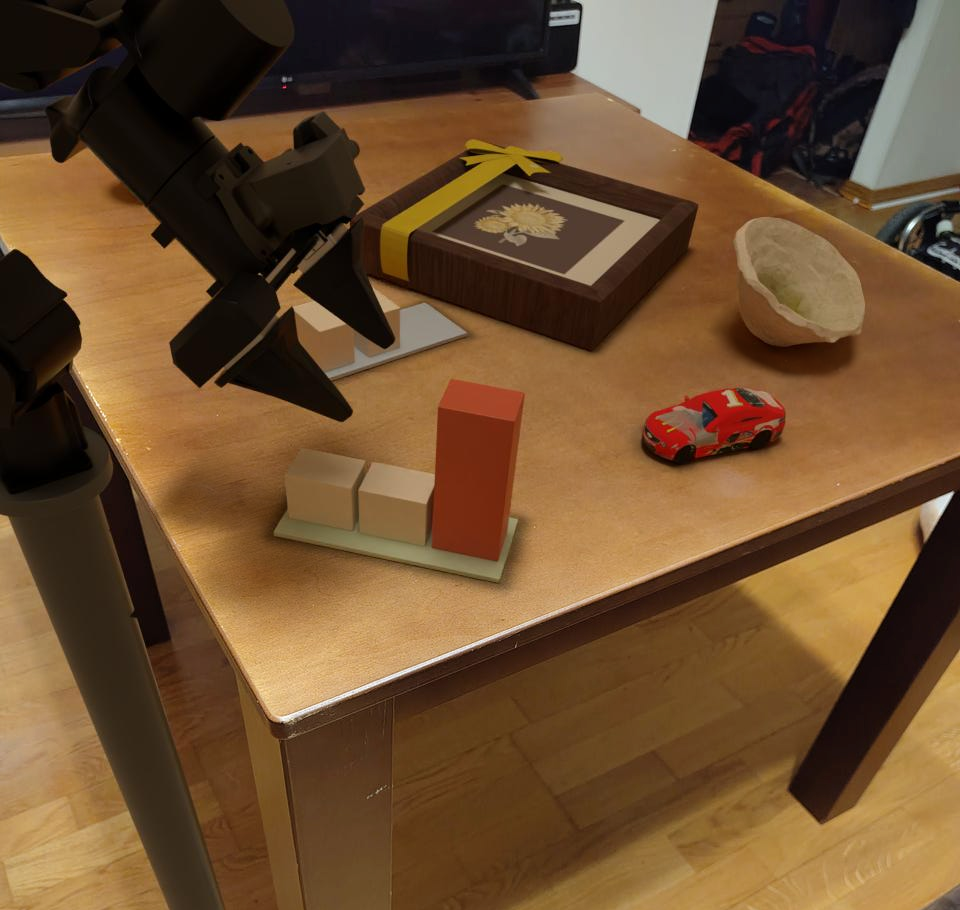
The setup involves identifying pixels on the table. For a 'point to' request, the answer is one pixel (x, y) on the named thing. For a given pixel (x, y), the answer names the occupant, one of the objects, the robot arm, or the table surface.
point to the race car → (714, 424)
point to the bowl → (795, 285)
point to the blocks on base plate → (353, 352)
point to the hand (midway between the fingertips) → (370, 379)
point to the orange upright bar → (475, 467)
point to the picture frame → (527, 240)
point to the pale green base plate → (373, 513)
